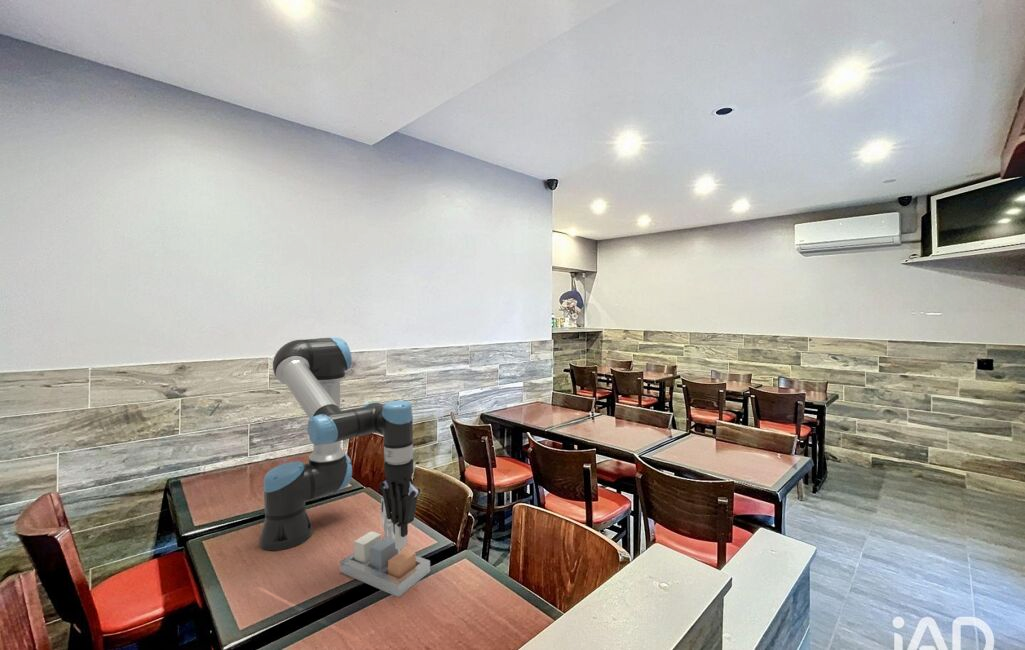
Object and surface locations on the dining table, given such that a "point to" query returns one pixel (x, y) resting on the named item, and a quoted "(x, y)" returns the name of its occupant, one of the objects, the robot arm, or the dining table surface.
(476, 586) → the dining table surface
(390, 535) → the beer glass
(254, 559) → the dining table surface
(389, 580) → the grey tray
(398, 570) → the orange block
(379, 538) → the cream block
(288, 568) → the dining table surface
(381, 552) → the slate key
